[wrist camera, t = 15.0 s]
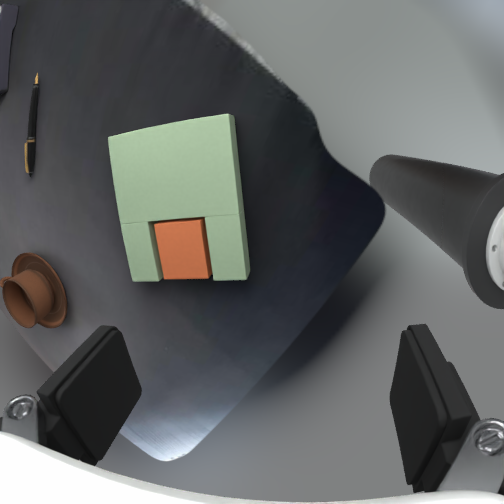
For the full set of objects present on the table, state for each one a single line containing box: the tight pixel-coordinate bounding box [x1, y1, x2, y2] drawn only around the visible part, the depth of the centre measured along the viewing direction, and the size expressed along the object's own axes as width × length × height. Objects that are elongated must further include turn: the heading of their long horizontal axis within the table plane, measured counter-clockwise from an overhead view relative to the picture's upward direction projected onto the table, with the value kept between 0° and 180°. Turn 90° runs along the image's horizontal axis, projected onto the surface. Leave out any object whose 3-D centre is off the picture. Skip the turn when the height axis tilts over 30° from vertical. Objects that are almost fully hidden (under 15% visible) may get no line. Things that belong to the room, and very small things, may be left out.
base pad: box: [108, 114, 250, 281], centre depth 32 cm, size 13×16×2 cm
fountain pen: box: [25, 73, 39, 177], centre depth 32 cm, size 14×1×2 cm, turn 173°
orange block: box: [154, 217, 213, 279], centre depth 33 cm, size 5×6×2 cm
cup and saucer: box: [0, 253, 67, 328], centre depth 37 cm, size 12×12×6 cm
